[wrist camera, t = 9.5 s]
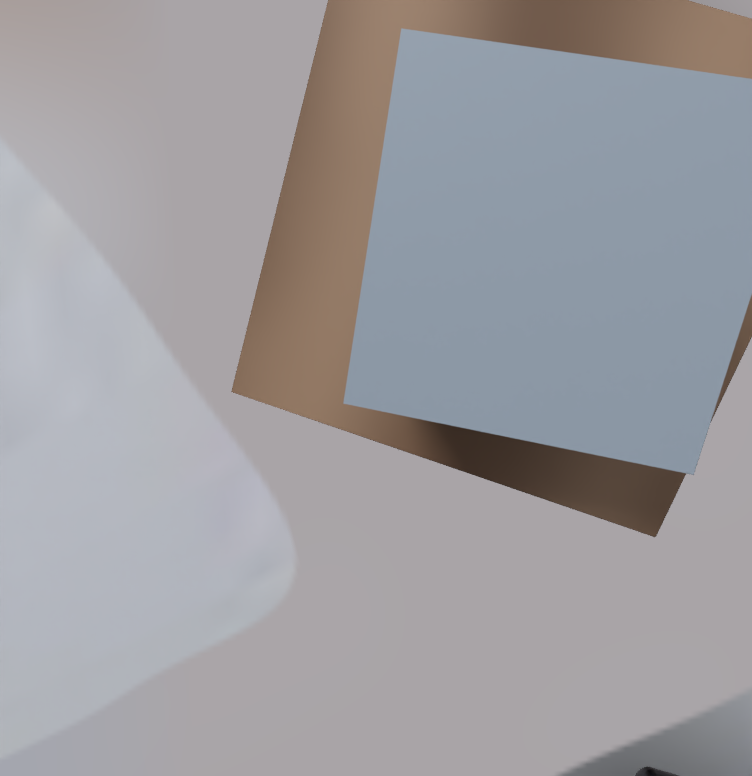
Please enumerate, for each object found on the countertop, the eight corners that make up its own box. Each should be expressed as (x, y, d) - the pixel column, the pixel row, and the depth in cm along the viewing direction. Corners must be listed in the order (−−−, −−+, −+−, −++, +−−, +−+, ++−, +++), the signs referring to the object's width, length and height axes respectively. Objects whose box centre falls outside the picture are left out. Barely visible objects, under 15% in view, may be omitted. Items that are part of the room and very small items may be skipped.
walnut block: (789, 92, 16) (886, 57, 12) (621, 469, 19) (655, 537, 15) (383, -28, 17) (351, -97, 13) (281, 354, 19) (231, 391, 16)
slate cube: (694, 129, 13) (817, 88, 8) (623, 382, 14) (693, 474, 9) (431, 89, 13) (400, 27, 9) (388, 337, 15) (343, 403, 10)
